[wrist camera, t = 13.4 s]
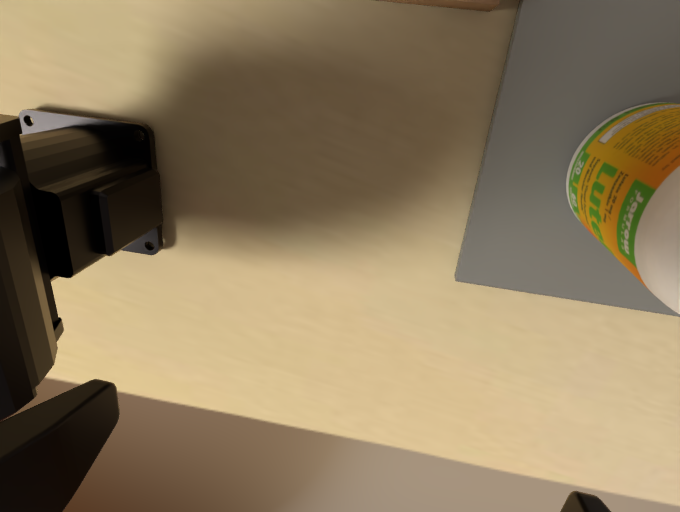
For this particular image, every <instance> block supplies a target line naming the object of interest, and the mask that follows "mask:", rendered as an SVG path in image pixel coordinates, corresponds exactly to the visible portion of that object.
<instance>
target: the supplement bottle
mask: <svg viewBox="0 0 680 512" xmlns="http://www.w3.org/2000/svg"><path fill="white" fill-rule="evenodd" d="M566 192H567V197H568V202H569V204H570V207H571V209H572V211H573V213H574V214H575V216H576V217H577V219H578V220H579V221H580V222H581V223H582V225H583V226H584V227H585V228H586V229H587V230H588V231H589V232H590V233H591V234H592V235H593V236H594V237H595V238H596V239H597V240H599V241H600V242H601V243H602V244H603V245H604V246H605V247H606V248H607V249H608V250H609V251H610V252H611V253H612V254H613V255H614V256H615V257H616V258H617V259H618V260H619V261H620V262H621V263H622V264H623V265H624V266H625V267H626V268H627V269H628V270H629V271H630V272H631V273H632V274H633V275H634V276H635V277H636V278H637V279H638V280H639V281H640V282H641V283H642V284H643V285H644V286H645V287H646V288H647V289H648V290H649V291H650V292H652V293H653V294H654V295H655V296H656V297H657V298H658V299H659V300H661V301H662V302H663V303H664V304H665V305H666V306H668V307H669V308H671V309H672V310H673V311H675V312H677V313H678V314H680V104H676V103H664V102H659V103H649V104H643V105H638V106H635V107H631V108H629V109H626V110H623V111H621V112H619V113H617V114H615V115H613V116H611V117H609V118H608V119H606V120H605V121H603V122H602V123H601V124H600V125H598V126H597V127H596V128H595V129H594V130H592V131H591V132H590V133H589V134H588V135H587V136H586V138H585V139H584V140H583V141H582V143H581V144H580V145H579V147H578V148H577V150H576V152H575V153H574V155H573V158H572V160H571V162H570V165H569V168H568V172H567V178H566Z"/></svg>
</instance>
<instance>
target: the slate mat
mask: <svg viewBox="0 0 680 512" xmlns="http://www.w3.org/2000/svg"><path fill="white" fill-rule="evenodd" d="M659 102H664V103H676V104H680V0H520V3H519V7H518V11H517V16H516V20H515V24H514V28H513V32H512V37H511V41H510V45H509V49H508V53H507V57H506V62H505V66H504V70H503V74H502V78H501V83H500V87H499V91H498V95H497V99H496V104H495V108H494V112H493V116H492V120H491V125H490V129H489V133H488V137H487V141H486V146H485V150H484V154H483V158H482V162H481V167H480V171H479V175H478V179H477V183H476V187H475V192H474V196H473V200H472V204H471V208H470V213H469V217H468V221H467V225H466V229H465V234H464V238H463V242H462V246H461V250H460V255H459V259H458V263H457V267H456V271H455V281H458V282H464V283H470V284H477V285H483V286H489V287H495V288H502V289H508V290H514V291H521V292H527V293H533V294H540V295H546V296H552V297H559V298H565V299H571V300H577V301H584V302H590V303H596V304H603V305H609V306H615V307H622V308H628V309H634V310H641V311H647V312H653V313H660V314H666V315H672V316H678V317H680V314H678V313H677V312H675V311H673V310H672V309H671V308H669V307H668V306H666V305H665V304H664V303H663V302H662V301H661V300H659V299H658V298H657V297H656V296H655V295H654V294H653V293H652V292H650V291H649V290H648V289H647V288H646V287H645V286H644V285H643V284H642V283H641V282H640V281H639V280H638V279H637V278H636V277H635V276H634V275H633V274H632V273H631V272H630V271H629V270H628V269H627V268H626V267H625V266H624V265H623V264H622V263H621V262H620V261H619V260H618V259H617V258H616V257H615V256H614V255H613V254H612V253H611V252H610V251H609V250H608V249H607V248H606V247H605V246H604V245H603V244H602V243H601V242H600V241H599V240H597V239H596V238H595V237H594V236H593V235H592V234H591V233H590V232H589V231H588V230H587V229H586V228H585V227H584V226H583V225H582V223H581V222H580V221H579V220H578V219H577V217H576V216H575V214H574V213H573V211H572V209H571V207H570V204H569V202H568V197H567V192H566V178H567V172H568V168H569V165H570V162H571V160H572V158H573V155H574V153H575V152H576V150H577V148H578V147H579V145H580V144H581V143H582V141H583V140H584V139H585V138H586V136H587V135H588V134H589V133H590V132H591V131H592V130H594V129H595V128H596V127H597V126H598V125H600V124H601V123H602V122H603V121H605V120H606V119H608V118H609V117H611V116H613V115H615V114H617V113H619V112H621V111H623V110H626V109H629V108H631V107H635V106H638V105H643V104H649V103H659Z"/></svg>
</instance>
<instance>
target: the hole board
mask: <svg viewBox="0 0 680 512" xmlns="http://www.w3.org/2000/svg"><path fill="white" fill-rule="evenodd" d="M377 1H387V2H397V3H408V4H418V5H428V6H439V7H449V8H459V9H470V10H480V11H491V10H492V9H494V8H495V7H497V6H498V5H499V2H500V0H377Z"/></svg>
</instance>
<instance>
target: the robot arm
mask: <svg viewBox="0 0 680 512" xmlns="http://www.w3.org/2000/svg"><path fill="white" fill-rule="evenodd" d="M30 117H31V118H32V119H33V121H34V124H33V123H32V122H31V120H30ZM139 131H142V133H143V134H144V140H143V139H141V138H140V136H139ZM20 134H22V135H20ZM162 222H163V213H162V200H161V188H160V175H159V173H158V171H157V166H156V154H155V141H154V134H153V131H152V129H151V128H150V127H149V126H148V125H146V124H143V123H136V122H129V121H121V120H114V119H106V118H99V117H91V116H84V115H76V114H68V113H61V112H53V111H46V110H38V109H27V110H22V111H21V112H20V113H19V117H17V116H10V115H2V114H0V512H62V511H63V510H64V509H65V507H66V505H67V504H68V503H69V501H70V500H71V499H72V497H73V496H74V494H75V492H76V491H77V489H78V488H79V486H80V485H81V483H82V481H83V480H84V478H85V476H86V474H87V473H88V471H89V469H90V468H91V466H92V464H93V463H94V461H95V459H96V458H97V456H98V454H99V453H100V451H101V449H102V447H103V446H104V444H105V443H106V441H107V439H108V438H109V436H110V434H111V433H112V431H113V429H114V427H115V426H116V424H117V422H118V419H119V404H118V396H117V389H116V386H115V385H114V383H112V382H108V381H103V380H99V379H94V380H91V381H89V382H86V383H84V384H82V385H80V386H78V387H75V388H73V389H71V390H69V391H67V392H64V393H62V394H60V395H58V396H56V397H54V398H51V399H49V400H47V401H45V402H43V403H40V404H38V405H36V406H34V407H32V408H30V409H27V410H25V411H23V412H21V413H19V414H16V415H14V416H12V417H10V416H11V415H13V414H14V413H16V412H17V411H18V410H20V409H21V408H22V407H24V406H25V405H26V404H28V403H29V402H30V401H31V400H32V399H34V398H35V397H36V395H37V392H38V391H37V387H36V386H37V385H39V383H40V382H41V381H42V380H43V378H44V377H45V376H46V374H47V373H48V372H49V370H50V369H51V368H52V366H53V365H54V362H55V358H56V353H57V348H58V347H57V343H56V342H57V341H58V339H59V338H60V336H61V334H62V333H63V331H64V328H63V323H62V319H61V318H59V317H58V314H57V309H56V304H55V300H54V295H53V290H52V286H51V281H53V280H55V279H56V278H58V277H65V278H71V277H73V276H74V275H76V274H78V273H79V272H81V271H82V270H84V269H85V268H87V267H89V266H90V265H92V264H93V263H95V262H97V261H98V260H100V259H101V258H103V257H105V256H112V255H114V254H115V253H117V252H118V251H120V250H123V251H129V252H135V253H141V254H147V255H154V254H156V253H158V252H159V251H160V250H161V249H162V247H163V241H162V229H161V223H162ZM149 242H151V243H152V244H153V245H154V247H151V246H150V244H149ZM8 417H10V418H8ZM6 418H8V419H6ZM4 419H6V420H4ZM561 512H611V511H610V510H609V509H608V507H607V506H606V505H605V504H604V503H603V502H602V501H601V500H600V499H599V498H598V497H597V496H594V495H591V494H587V493H583V492H578V491H573V492H571V493H570V495H569V496H568V498H567V500H566V502H565V504H564V506H563V508H562V509H561Z"/></svg>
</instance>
